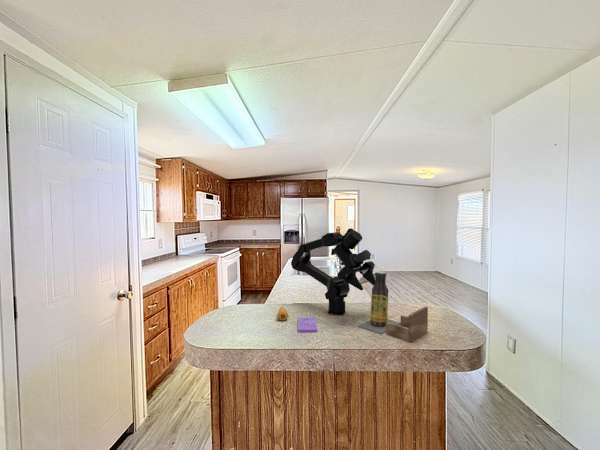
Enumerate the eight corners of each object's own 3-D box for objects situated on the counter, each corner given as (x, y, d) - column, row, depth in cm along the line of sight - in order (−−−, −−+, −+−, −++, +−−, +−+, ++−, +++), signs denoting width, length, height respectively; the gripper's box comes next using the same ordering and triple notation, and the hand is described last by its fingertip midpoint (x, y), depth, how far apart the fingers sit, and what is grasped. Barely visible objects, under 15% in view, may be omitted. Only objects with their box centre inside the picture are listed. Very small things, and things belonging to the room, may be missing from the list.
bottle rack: (385, 334, 106) (385, 309, 106) (402, 325, 115) (402, 301, 114) (411, 342, 99) (411, 315, 99) (427, 332, 108) (427, 307, 107)
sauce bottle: (369, 325, 113) (369, 273, 112) (371, 320, 119) (371, 270, 118) (387, 328, 111) (387, 274, 110) (389, 322, 116) (389, 271, 116)
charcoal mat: (357, 326, 113) (357, 325, 113) (378, 317, 123) (378, 316, 123) (381, 334, 106) (381, 333, 106) (401, 323, 116) (401, 322, 116)
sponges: (315, 321, 121) (315, 316, 121) (317, 334, 108) (317, 329, 108) (298, 321, 121) (298, 316, 121) (297, 334, 108) (297, 329, 108)
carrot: (286, 323, 119) (290, 313, 120) (275, 319, 119) (279, 308, 119) (284, 312, 139) (288, 303, 140) (275, 308, 139) (279, 299, 139)
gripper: (343, 245, 114) (368, 279, 107) (371, 242, 127) (395, 271, 120) (327, 264, 120) (350, 296, 113) (355, 258, 133) (377, 288, 126)
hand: (369, 287), depth 117 cm, fingers open, 9 cm apart
